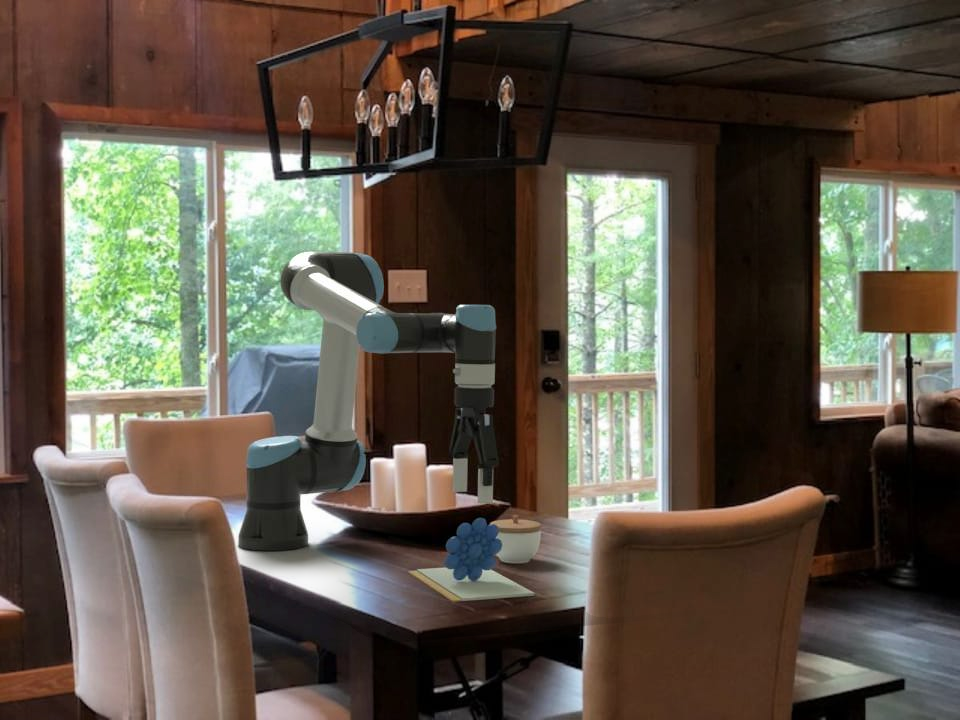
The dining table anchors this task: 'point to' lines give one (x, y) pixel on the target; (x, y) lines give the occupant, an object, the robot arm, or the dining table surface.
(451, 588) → the mat
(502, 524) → the lidded jar
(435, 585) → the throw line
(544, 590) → the dining table surface
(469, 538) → the grapes
